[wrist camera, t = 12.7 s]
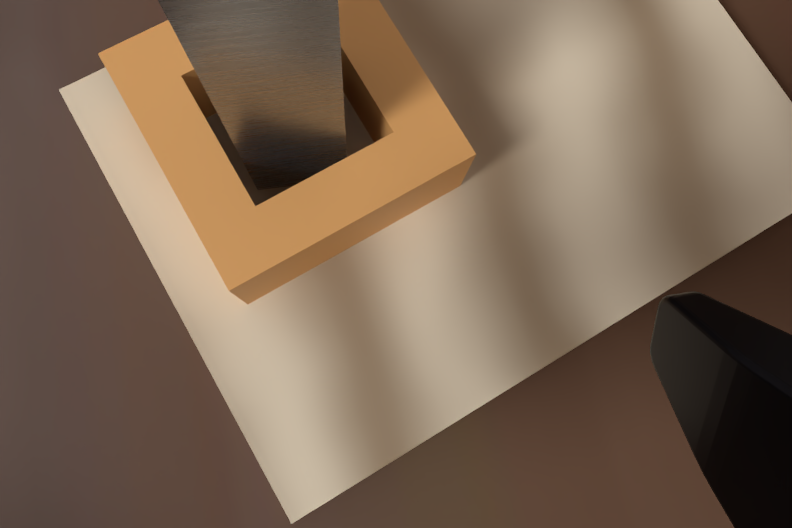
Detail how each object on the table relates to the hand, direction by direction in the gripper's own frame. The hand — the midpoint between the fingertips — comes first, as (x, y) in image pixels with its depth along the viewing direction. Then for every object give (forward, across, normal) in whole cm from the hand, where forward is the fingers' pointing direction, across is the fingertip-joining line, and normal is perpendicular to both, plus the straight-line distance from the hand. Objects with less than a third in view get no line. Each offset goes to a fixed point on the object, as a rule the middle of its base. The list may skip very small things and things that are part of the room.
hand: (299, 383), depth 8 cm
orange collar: (+15, 0, +3) cm, 15 cm away
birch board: (+15, -5, +4) cm, 17 cm away
